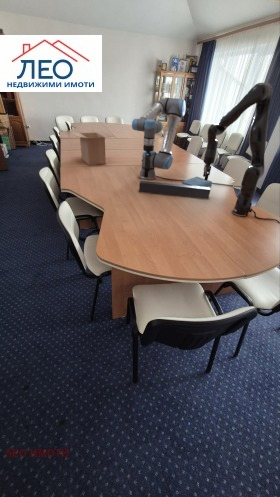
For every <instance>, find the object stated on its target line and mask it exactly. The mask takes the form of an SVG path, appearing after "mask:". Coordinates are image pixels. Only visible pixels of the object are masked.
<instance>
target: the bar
mask: <svg viewBox="0 0 280 497" xmlns="http://www.w3.org/2000/svg"><path fill="white" fill-rule="evenodd" d="M138 192H139V193H144V194H154V195H163V196H164V195H165V196H172V197H173V196H174V197H175V196H177V197H185V198H195V199H204V200H209V197H210V193H211V187H201V186H191V185H182V183H180V184H179V183H170V182H159V181H152V180H139V186H138Z"/></svg>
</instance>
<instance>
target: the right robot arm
mask: <svg viewBox="0 0 280 497" xmlns="http://www.w3.org/2000/svg"><path fill="white" fill-rule="evenodd" d="M272 96H273V86H272V84H271V83H268V82H258V83H256V84H254V85H253V86H252V87H251V88H250V89H249V90H248V91H247V93H246V94H245V95H244V96H243V97H242V98H241V100H240V101H239V102H237V104H235V105H234V106H233V107H232V108H231V109H230V110H229V111H228V112H227V113H225V114H224V115H223V116H222V117H221V118H220V120H219V122H218V123H212V124H210V126H209V127H208V129H207V143H206V144H207V145H206V148H205V152H204V156H203V164H204V167H203V174H202V178H203V177H204V178H203V179H204V180H209V176H210V175H211V170H212V165H213V164H215V160H216V157H217V156H216V155H217V150H218V145H219V141H218V140H217V136H220V135H222V134H223V133H224V132H225V131H226V130H228V128H229V127H230V126H231V125H233V124H234V123H235V122H236V121H237V120H239V118H240V117H241V116H242V115H243V113H244V112H245V111H246V110H248V109H249V108H250V107H252V106H254V105H255V114H254V117H253V120H252V123H251V126H250V128H249V137H248V144H249V150H250V153H251V162H250V166H249V167H247V168H246V170H245V171H244V174H243V178H242V180H241V182H240V183H241V184H240V186H241V187H240V189H239V192H238V195H237V199H236V201H235V204H234V207H233V209H232V214H233V215H235V216H237V217H248V215H249V213H253V214H254V217H255V218H256V219H258V220H269V221H275V222H277V223H278V224H280V220H278V219H276V218H269V217H265V218H264V217H258V216H257V213H256V211H255V210H254V209H253V207H252V204H253V203H252V202H253V199H254V197H255V194H256V191H257V188H258V187H257V184H258V182H259V179H261V178H262V177H264V174H265V153H266V145H267V138H268V125H269V113H270V108H271V107H270V106H271V101H272Z"/></svg>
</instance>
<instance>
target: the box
mask: <svg viewBox="0 0 280 497" xmlns="http://www.w3.org/2000/svg"><path fill="white" fill-rule="evenodd" d="M70 133H71V134H72V135H74V136H75V137H77V138H79V144H80V153H81V160H83V162H85V163H86V165H87V166H95V165H97V166H98V165H106V163H107V162H106V158H107V157H106V138H113V137H114V136H113V135H111V134H109V133H108V132H105V131H98V132H96V131H95V130H92V129H91V130H77V132H76V131H70Z"/></svg>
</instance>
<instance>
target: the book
mask: <svg viewBox="0 0 280 497" xmlns="http://www.w3.org/2000/svg"><path fill="white" fill-rule="evenodd" d="M204 179H205V178H203V177H199V176H195V177H191V178H188V179H186V180H185V179H184V180H185V181H181V185H191V186H201V187H210V188H211V187H212V185H213V184H212V183H213V182H212V180H209V179H208V180H204Z"/></svg>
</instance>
